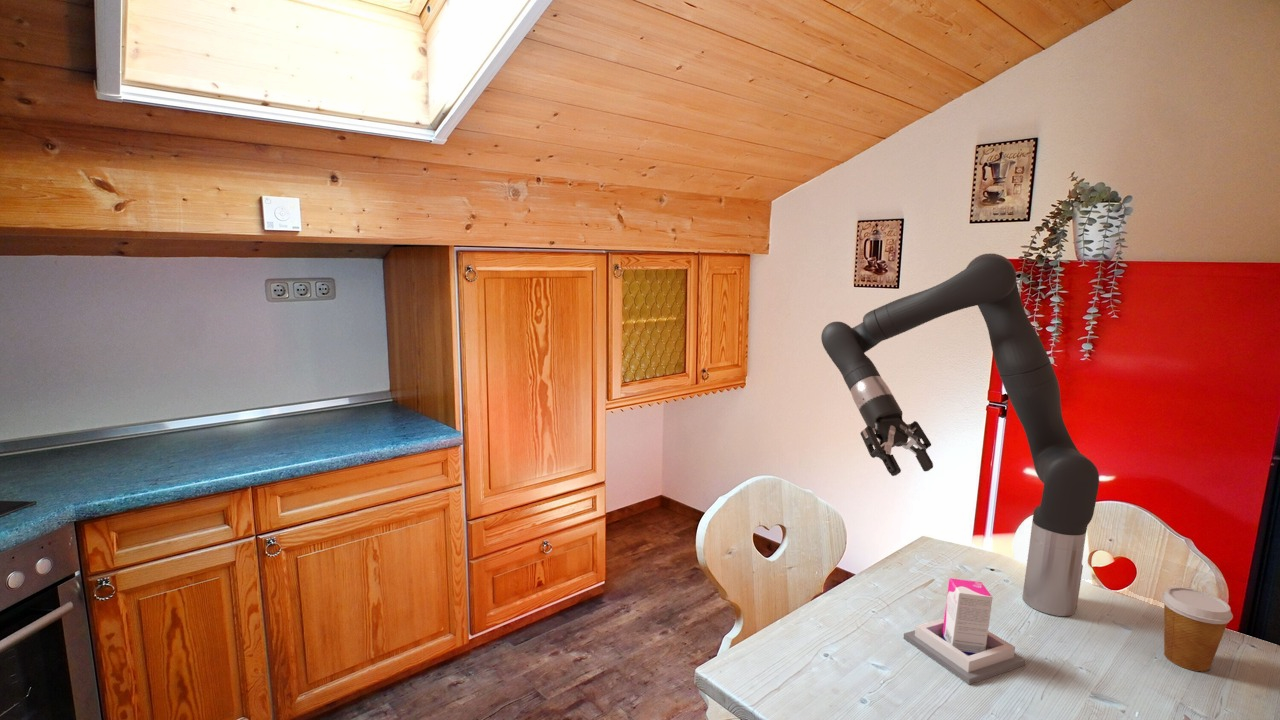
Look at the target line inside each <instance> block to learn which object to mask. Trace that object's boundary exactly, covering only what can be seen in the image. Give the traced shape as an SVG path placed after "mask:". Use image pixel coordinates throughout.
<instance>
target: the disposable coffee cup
mask: <svg viewBox="0 0 1280 720" xmlns="http://www.w3.org/2000/svg"><path fill="white" fill-rule="evenodd" d="M1161 599H1162V601H1163V604H1164V605H1163V607H1164V611H1163V612H1164V613H1163V614H1164V617H1163V620H1164V622H1163V624H1164V629H1163V634H1164V637H1163V638H1164V643H1163V644H1164V645H1163V649H1164V652H1163V655H1164V657H1165V658H1167V660H1168V661H1170V662H1171V663H1173V664H1175V665H1176V664H1177V666H1179V667H1181V668H1183V669H1186V670H1189V669H1190V671H1193V670H1194V672H1198V671H1201V672H1200V673H1203V671H1206V672H1208V671H1207V670H1209V669H1210V670H1211V667H1212V663H1213V661H1214V659H1215V657H1216V653H1217V651H1218V648H1219V647H1220V643H1221V642H1222V637H1224V633H1225V630H1226V628H1227V625H1228V623H1230V621H1232V620H1233V618H1234V615H1233V613H1232V611H1231V606H1230V605H1229V603H1227V602H1226V601H1225V600H1223V599H1221V598H1220V597H1217V596H1215V595H1213V594H1211V593H1208V592H1205V591H1202V590H1198V589H1194V588H1190V587H1182V586H1170V587H1168V588H1167V589H1166V590H1165V592H1164V593H1162V594H1161ZM1210 670H1209V671H1210Z"/></svg>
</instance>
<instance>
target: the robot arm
mask: <svg viewBox="0 0 1280 720" xmlns="http://www.w3.org/2000/svg"><path fill="white" fill-rule="evenodd" d="M1017 278H1018V277H1017V272H1016V268H1015V267H1014V265H1013V263H1012V261H1010V260H1009V259H1008V257H1005V256H1003V255H1001V254H998V253H983V254H979V255H978V256H976V257H975V258H973V259H972V260H971V261H970V262H969V263H968V265H967V266H966V267H965V269H963V270H962V271H960V272H959V273H957V274H955V275H953V276H952V277H950V278H948V279H947V280H945V281H943V282H941V283H939V284H937V285H935V286H932V287H929V288H927V289H924V290H922V291H919V292H916V293H913V294H909V295H907V296H904V297H901V298H897V299H896V300H893V301H890V302H888V303H886V304H884V305H881V306H879V307H877V308H874V309H873V310H870V311H869V312H867V313H865V314H864V316H863V317H862V322H860V323H859V324H858V325H855V326H854V327H851V326H850V325H849V324H847V323H846V322H844V321H843V322H842V321H832V322H829V323H828V324H827V325H825V327H824V328H823V330H822V332H821V337H820V338H821V344H822V346H823V349H824V351H825V352H826V354H827V355H828V356H829V359H830V360H831V361H832V362H833V364H834V365H835V366H836V368H837V369H838V370H839V372H840V374H841V375H842V377H843V381H844V383H845V384H846V386H847V388H848V390H849V392H850V394H851V396H852V400H853V402H854V404H855V405H856V408H857V409H858V412H859V414H860V416H861V417H862V419H863V421H864V423H865V424H866V427H865V428H864V429H863V430H861V432H860V436H861V438H862V440H863V443H864V445H865V448H866V449H867V451H868V454H869V456H870V457H871V458H872V459H875V458H879V460H881V461H882V462H883V465H884V466H885V468H886V471H887V472H888V473H889V474H890V476H892V477H895V476H898V475H899V474H900V473H901V471H902V469H901V468H900V466H899V463H898V462H897V459H896V458H895V456H894V454H892V448H894V447H899V448H900V447H902V448H903V449H905V450H908V451H910V452H912V454H914V455H915V458H916V460H917V462H918V464H919V465H920V467H921V468H922V471H923V472H929V471H930V470H932V469H933V468H934V463H933V461H932V460H931V458H930V456H929V454H928V452H927V449H929V448H930V447H932V442H931V441H930V439H929V438H928V437H927V435H926V434H925V432H924V430H923V428H922V427H921V425H920V424H919V422H917V421H916V420H914V421H913V422H911V423H906V422H905V421H904V420H903V410H902V409H901V407H900V405H899V403H898V402H897V400H896V397H895V396H894V395H893V393H892V391H891V389H890V388H889V386H888V384H887V383H886V382H885V381H884V379H883V378H882V376H881V374H880V372H879V371H878V369H877V368H876V366H875V364H874V363H873V361H872V359H871V358H870V357H869V356H868V355H866V353H867V352H868V351H870V350H871V349H873V348H875V347H876V346H877V345H878V344H880V343H881V342H883V341H886V340H888V339H891V338H893V337H896V336H899V335H900V334H903V333H906V332H908V331H911V330H912V329H914V328H917V327H919V326H921V325H924V324H926V323H928V322H931V321H933V320H935V319H939V318H940V317H943V316H946V315H949V314H951V313H954V312H957V311H958V312H959V311H961V310H964V309H967V308H971V307H975V306H977V307H978V309H979V311H980V313H981V315H982V317H983V319H984V322H985V324H986V327H987V331H988V335H989V340H990V346H991V351H992V355H993V358H994V363H995V366H996V368H997V371H998V374H999V377H1000V380H1001V382H1002V385H1003V388H1004V390H1005V392H1006V394H1007V396H1008V398H1009V401H1010V404H1011V405H1012V407H1013V409H1014V412H1015V414H1016V416H1017V418H1018V420H1019V422H1020V423H1021V425H1022V428H1023V431H1024V432H1025V436H1026V439H1027V443H1028V447H1029V450H1030V455H1031V459H1032V462H1033V466H1034V470H1035V473H1036V475H1037V477H1038V479H1039V480H1040V481H1041V482H1042V483H1043V489H1042V495H1041V501H1040V504H1039V505H1037V506H1035V508H1034V510H1033V514H1032V523H1031V530H1030V539H1029V544H1028V545H1029V546H1028V552H1027V553H1028V554H1027V560H1026V561H1027V562H1026V569H1025V575H1024V585H1023V590H1022V600H1023V602H1024V603H1025V604H1026V605H1028V606H1029V607H1030V608H1032V609H1034V610H1036V611H1038V612H1041V613H1044V614H1048V615H1052V616H1059V617H1069V616H1072V615H1073V614H1075V612H1076V608H1077V607H1078V602H1079V596H1080V590H1081V584H1082V583H1081V582H1082V574H1083V568H1084V565H1083V558H1084V551H1085V544H1086V538H1087V537H1086V535H1087V530H1088V526H1089V524H1090V522H1091V521H1092V520H1093V517H1094V515H1095V514H1094V513H1095V509H1096V504H1097V497H1098V493H1099V486H1100V474H1099V470H1098V467H1097V466H1096V465H1095V463H1094V462H1092V460H1091V459H1089V458H1088V457H1087V456H1085V455H1084V454H1082V453H1081V452H1080V451H1079V449H1078V448H1077V446H1076V444H1075V443H1074V441H1073V439H1072V437H1071V434H1070V432H1069V430H1068V428H1067V426H1066V424H1065V422H1064V417H1063V412H1062V401H1061V400H1062V399H1061V389H1060V384H1059V381H1058V377H1057V375H1056V373H1055V370H1054V367H1053V365H1052V361H1051V359H1050V357H1049V354H1048V353H1047V350H1046V348H1045V346H1044V345H1043V342H1042V341H1041V338H1040V337H1039V335H1038V333H1037V331H1036V329H1035V328H1034V326H1033V325H1032V323H1031V321H1030V319H1029V317H1028V315H1027V313H1026V311H1025V308H1024V304H1023V302H1022V298H1021V295H1020V291H1019V288H1018V281H1017ZM908 440H909V441H908ZM914 445H915V446H914Z"/></svg>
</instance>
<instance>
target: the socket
mask: <svg viewBox="0 0 1280 720" xmlns="http://www.w3.org/2000/svg"><path fill="white" fill-rule="evenodd" d="M943 624H944V617H943V618H939V619H936V620H931V621H928V622H925V623H921V624H917V625H915V629H914V630H911V631H907V632H904V633H903V640H906V641H907V642H908V643H909V642H910V645H912V646H914V647H915V648H916V647H917V648H916V649H918V650H919V651H921V652H923V653H924V654H925V655H926V656H928V657H929V658H931V659H932V660H934V662H936V663H937V664H939V665H940V666H942V667H944V668H945V669H946V670H948V671H949V672H950V673H952V674H953V675H954V676H956V677H957V678H959V679H960V680H962V681H963V682H965V683H966V684H967V685H971V684H974V683H977V682H979V681H983V680H985V679H989V678H992V677H995V676H998V675H1000V674H1003V673H1007V672H1009V671H1012V670H1016V669H1018V668H1022V667H1024V666H1026V659H1025V658H1024V657H1021V656H1020V655H1018V654H1017V653H1015V652H1016V651H1015V650H1016V646H1015V645H1012V644H1011V643H1009V642H1008V641H1006V640H1005V639H1003V638H1001V637H999V636H997V635H996V634H994V633H993V632H991V631H989V630H988V635H987V642H986V649H985V651H983V652H979V653H976V654H973V655H966V654H964V653H963V652H961V651H960V650H958V649H957V648H955V647H954V646H952V645H951V644H949V643H948V642H946V641H945V640H944V638H943V636H942V631H943Z"/></svg>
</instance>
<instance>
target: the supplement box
mask: <svg viewBox="0 0 1280 720" xmlns="http://www.w3.org/2000/svg"><path fill="white" fill-rule="evenodd" d="M946 594H947V595H946V600H945V601H946V603H945V611H944V617H943V618H944V624H943V631H942V636H943V638H944V640H945V641H946V642H948V643H949V644H951V645H952V646H954V647H955V648H957V649H958V650H960V651H961V652H963V653H964V654H966V655H973V654H976V653H979V652H983V651H985V649H986V642H987V635H988V631H989V626H990V619H991V612H992V603H993V599H994V598H993V596H992V595H991V594H990V592H989V591H988V589H987V588H986V586H985V585H984V584H983V582H982V581H976V580H975V581H974V580H967V579H966V580H965V579H957V578H951V577H949V579H948V587H947V593H946Z"/></svg>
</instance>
